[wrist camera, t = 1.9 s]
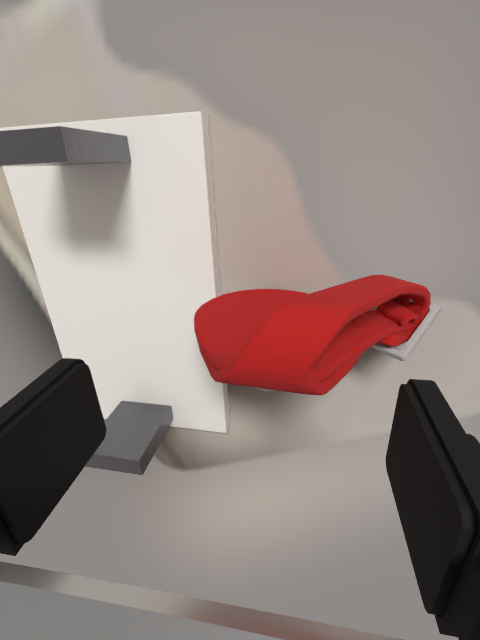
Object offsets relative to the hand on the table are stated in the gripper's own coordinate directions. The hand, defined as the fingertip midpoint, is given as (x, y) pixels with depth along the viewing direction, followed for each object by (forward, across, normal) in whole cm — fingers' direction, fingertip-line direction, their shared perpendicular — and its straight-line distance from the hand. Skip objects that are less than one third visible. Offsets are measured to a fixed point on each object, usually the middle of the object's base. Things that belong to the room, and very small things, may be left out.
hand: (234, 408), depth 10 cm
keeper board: (+11, +9, +1) cm, 15 cm away
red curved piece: (+11, -3, 0) cm, 12 cm away
